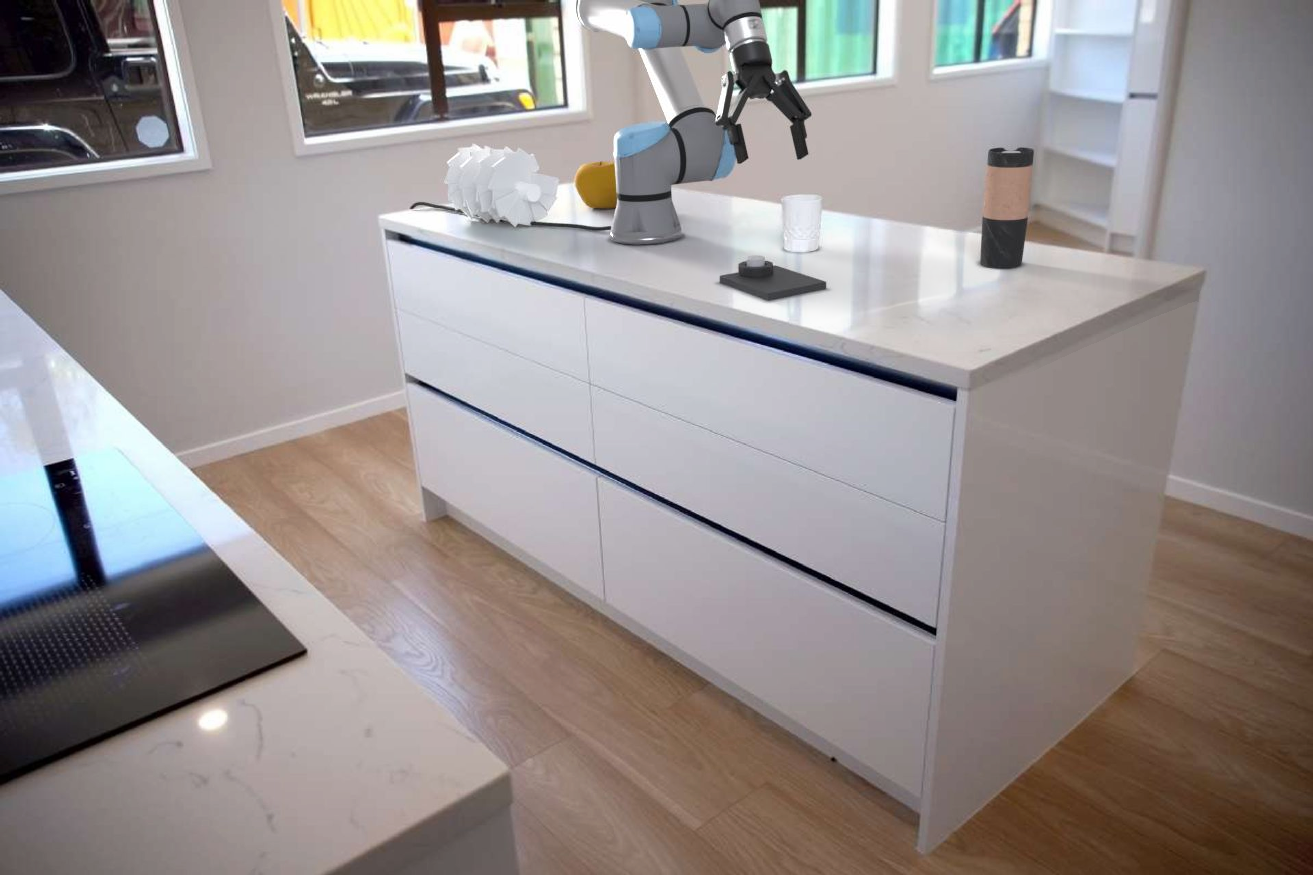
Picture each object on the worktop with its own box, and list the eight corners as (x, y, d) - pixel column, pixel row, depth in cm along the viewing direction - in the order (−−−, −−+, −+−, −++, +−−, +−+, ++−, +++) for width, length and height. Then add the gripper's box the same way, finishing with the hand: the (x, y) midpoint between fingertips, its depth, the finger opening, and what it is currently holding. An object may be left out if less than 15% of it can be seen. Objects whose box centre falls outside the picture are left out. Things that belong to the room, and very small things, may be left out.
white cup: (820, 253, 194) (821, 201, 190) (779, 253, 195) (779, 202, 191) (822, 244, 201) (823, 194, 197) (783, 244, 202) (783, 194, 199)
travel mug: (1000, 271, 175) (1011, 154, 167) (969, 263, 181) (978, 150, 173) (1032, 264, 178) (1044, 149, 170) (1000, 257, 185) (1010, 145, 177)
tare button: (743, 265, 177) (742, 257, 176) (758, 263, 178) (758, 254, 177) (753, 269, 174) (753, 260, 173) (768, 266, 175) (768, 257, 175)
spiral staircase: (522, 248, 229) (458, 230, 245) (573, 204, 236) (508, 189, 252) (488, 180, 217) (424, 166, 233) (543, 136, 224) (477, 125, 240)
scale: (718, 282, 177) (717, 266, 176) (773, 272, 182) (773, 256, 181) (767, 301, 164) (767, 284, 163) (826, 289, 169) (826, 272, 168)
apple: (627, 212, 243) (624, 164, 238) (574, 214, 243) (570, 166, 239) (629, 202, 255) (627, 156, 250) (579, 204, 255) (575, 159, 250)
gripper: (701, 39, 176) (727, 155, 176) (813, 38, 188) (838, 148, 187) (681, 58, 183) (706, 170, 183) (791, 57, 194) (815, 162, 194)
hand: (773, 159), depth 185 cm, fingers open, 13 cm apart
